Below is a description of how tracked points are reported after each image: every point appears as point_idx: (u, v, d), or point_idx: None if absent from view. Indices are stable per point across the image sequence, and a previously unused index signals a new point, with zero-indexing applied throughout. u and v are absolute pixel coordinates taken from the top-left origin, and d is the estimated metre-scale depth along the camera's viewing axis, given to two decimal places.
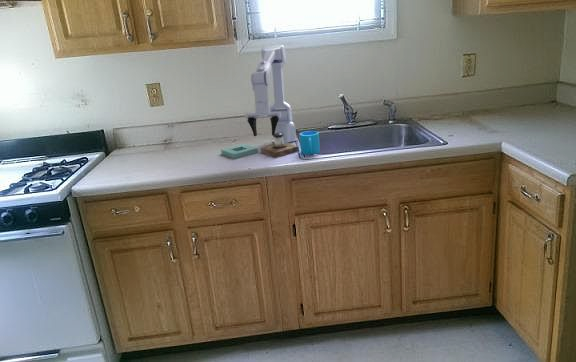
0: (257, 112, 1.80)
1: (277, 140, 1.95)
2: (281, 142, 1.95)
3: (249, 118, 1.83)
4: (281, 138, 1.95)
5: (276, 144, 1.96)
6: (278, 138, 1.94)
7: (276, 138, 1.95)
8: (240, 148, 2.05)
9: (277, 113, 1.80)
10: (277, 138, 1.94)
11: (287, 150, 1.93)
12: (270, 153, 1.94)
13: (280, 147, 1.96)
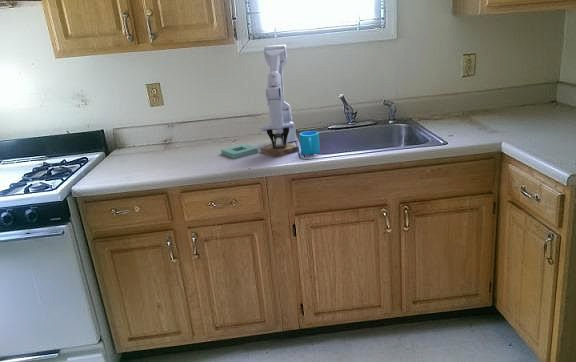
0: (273, 125, 1.92)
1: (277, 140, 1.95)
2: (281, 142, 1.95)
3: None
4: (281, 138, 1.95)
5: (276, 144, 1.96)
6: (278, 138, 1.94)
7: (276, 138, 1.95)
8: (240, 148, 2.05)
9: (292, 125, 1.94)
10: (277, 138, 1.94)
11: (287, 150, 1.93)
12: (270, 153, 1.94)
13: (280, 147, 1.96)
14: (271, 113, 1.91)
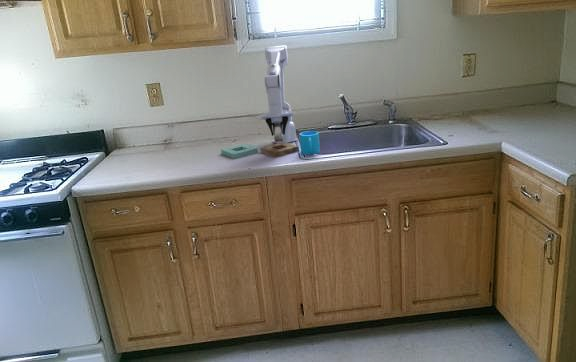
0: (272, 114, 1.90)
1: (276, 129, 1.93)
2: (280, 131, 1.94)
3: (263, 119, 1.92)
4: (280, 127, 1.93)
5: (275, 133, 1.94)
6: (277, 127, 1.93)
7: (275, 127, 1.93)
8: (240, 148, 2.05)
9: (291, 113, 1.92)
10: (276, 127, 1.93)
11: (287, 150, 1.93)
12: (270, 153, 1.94)
13: (279, 136, 1.94)
14: (270, 101, 1.89)
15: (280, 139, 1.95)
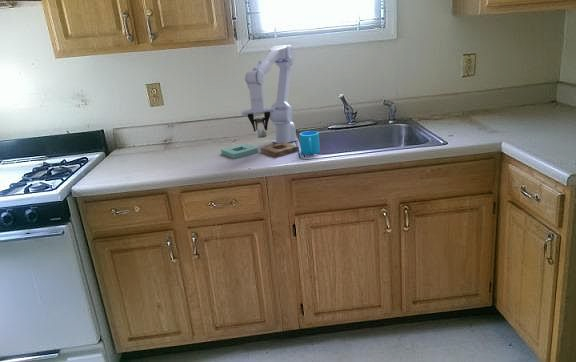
0: (254, 109, 1.91)
1: (258, 125, 1.94)
2: (263, 127, 1.94)
3: None
4: (262, 123, 1.94)
5: (258, 129, 1.95)
6: (259, 123, 1.93)
7: (257, 123, 1.93)
8: (240, 148, 2.05)
9: (273, 109, 1.93)
10: (258, 123, 1.93)
11: (287, 150, 1.93)
12: (270, 153, 1.94)
13: (262, 132, 1.95)
14: (250, 97, 1.91)
15: (263, 135, 1.95)
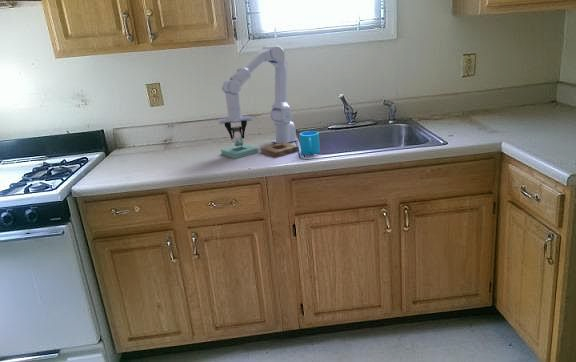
0: (231, 118, 1.94)
1: (235, 134, 1.97)
2: (239, 135, 1.97)
3: None
4: (239, 131, 1.97)
5: (235, 138, 1.98)
6: (236, 132, 1.96)
7: (234, 132, 1.96)
8: (240, 148, 2.05)
9: (249, 117, 1.96)
10: (235, 132, 1.96)
11: (287, 150, 1.93)
12: (270, 153, 1.94)
13: (239, 140, 1.98)
14: None
15: (240, 143, 1.98)
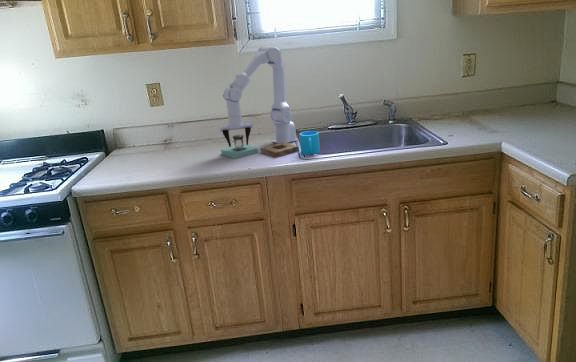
0: (232, 125, 1.95)
1: (237, 142, 1.98)
2: (241, 144, 1.99)
3: (223, 131, 1.97)
4: (241, 140, 1.98)
5: (236, 146, 1.99)
6: (238, 140, 1.98)
7: (236, 140, 1.98)
8: None
9: (250, 125, 1.97)
10: (237, 140, 1.98)
11: (287, 150, 1.93)
12: (270, 153, 1.94)
13: (240, 149, 1.99)
14: None
15: None
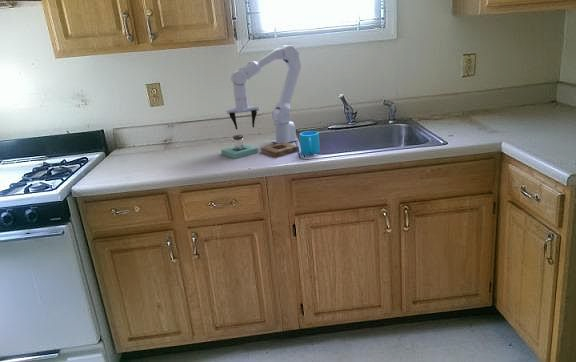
0: (238, 108, 2.01)
1: (237, 142, 1.98)
2: (241, 144, 1.99)
3: (230, 113, 2.03)
4: (241, 140, 1.98)
5: (236, 146, 1.99)
6: (238, 140, 1.98)
7: (236, 140, 1.98)
8: None
9: (256, 107, 2.03)
10: (237, 140, 1.98)
11: (287, 150, 1.93)
12: (270, 153, 1.94)
13: (240, 149, 1.99)
14: None
15: None
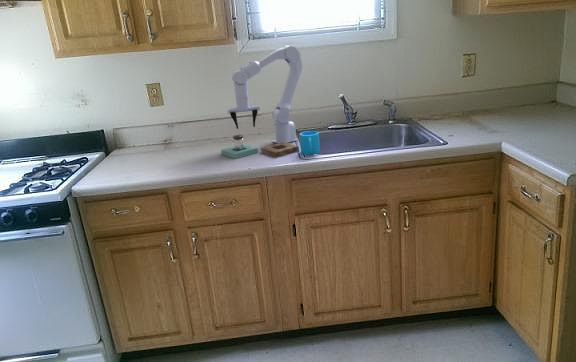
0: (239, 107, 2.02)
1: (237, 142, 1.98)
2: (241, 144, 1.99)
3: (231, 113, 2.04)
4: (241, 140, 1.98)
5: (236, 146, 1.99)
6: (238, 140, 1.98)
7: (236, 140, 1.98)
8: None
9: (257, 107, 2.04)
10: (237, 140, 1.98)
11: (287, 150, 1.93)
12: (270, 153, 1.94)
13: (240, 149, 1.99)
14: None
15: None
